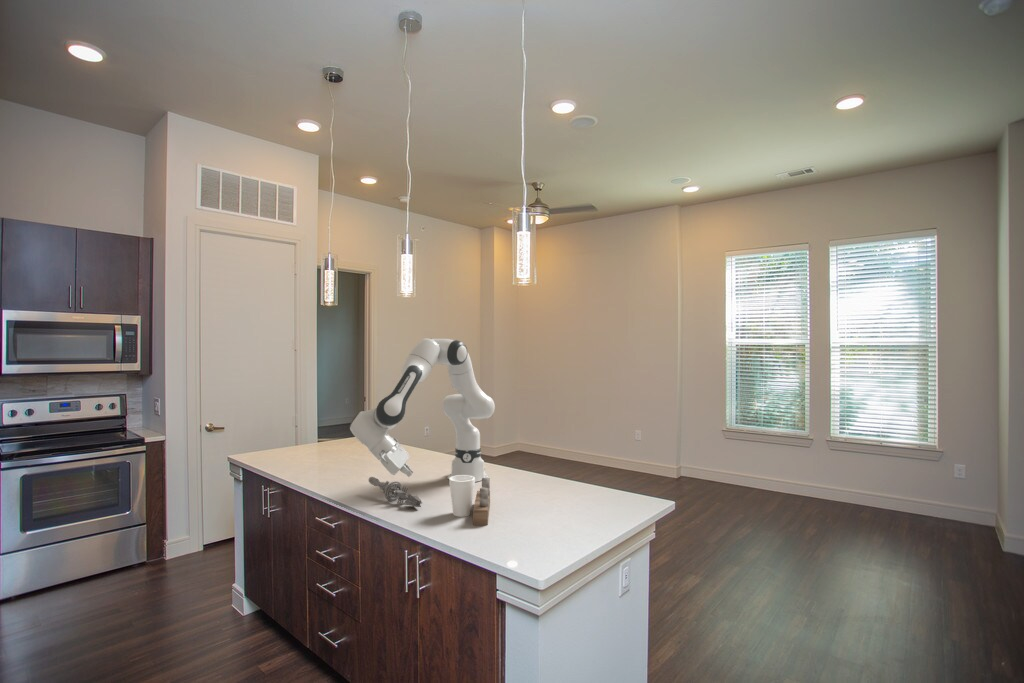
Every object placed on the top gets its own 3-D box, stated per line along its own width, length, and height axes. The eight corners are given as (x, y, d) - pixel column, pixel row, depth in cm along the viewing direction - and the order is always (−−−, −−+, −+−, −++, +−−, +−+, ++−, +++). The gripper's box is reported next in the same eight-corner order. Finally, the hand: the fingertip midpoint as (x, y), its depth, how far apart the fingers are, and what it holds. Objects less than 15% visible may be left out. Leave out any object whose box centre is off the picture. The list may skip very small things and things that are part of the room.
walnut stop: (477, 503, 199) (477, 475, 199) (490, 503, 199) (490, 475, 199) (473, 525, 175) (473, 492, 175) (487, 525, 175) (487, 492, 175)
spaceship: (379, 471, 217) (364, 467, 212) (431, 496, 194) (416, 492, 188) (372, 489, 215) (357, 486, 210) (424, 516, 192) (408, 513, 187)
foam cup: (479, 512, 188) (480, 477, 188) (464, 519, 180) (464, 482, 180) (459, 508, 193) (459, 473, 193) (443, 515, 185) (443, 479, 185)
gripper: (384, 448, 178) (412, 476, 178) (396, 437, 198) (421, 462, 199) (371, 461, 178) (399, 488, 178) (385, 448, 198) (410, 473, 199)
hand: (411, 474), depth 189 cm, fingers closed
